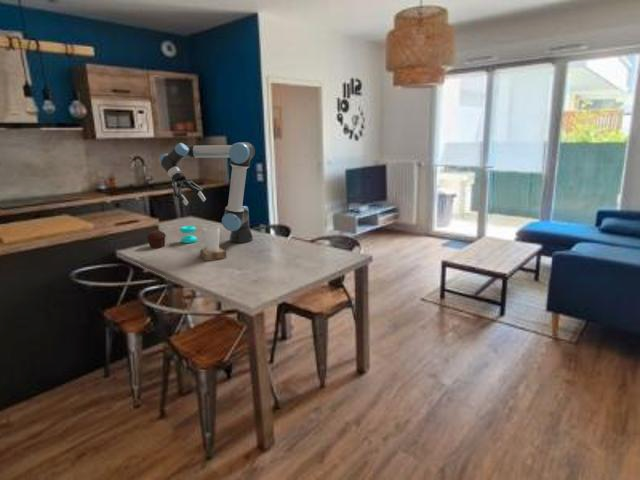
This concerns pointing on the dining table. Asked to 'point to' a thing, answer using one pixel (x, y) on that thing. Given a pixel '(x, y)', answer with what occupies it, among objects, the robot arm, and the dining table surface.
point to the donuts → (189, 238)
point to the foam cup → (211, 238)
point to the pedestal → (212, 254)
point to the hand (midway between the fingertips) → (196, 202)
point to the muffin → (156, 239)
